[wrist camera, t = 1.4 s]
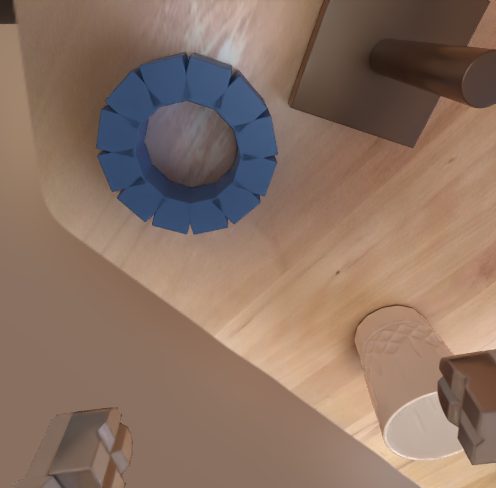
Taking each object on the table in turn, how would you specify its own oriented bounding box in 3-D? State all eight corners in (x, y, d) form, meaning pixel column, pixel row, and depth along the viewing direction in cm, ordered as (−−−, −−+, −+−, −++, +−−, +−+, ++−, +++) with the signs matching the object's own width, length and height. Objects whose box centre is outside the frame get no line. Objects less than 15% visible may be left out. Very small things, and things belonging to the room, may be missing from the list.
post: (287, 103, 27) (327, 159, 16) (343, -55, 22) (449, -127, 12) (404, 142, 28) (514, 218, 17) (476, 2, 24) (680, -15, 13)
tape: (100, 192, 29) (87, 209, 27) (124, 28, 24) (111, 29, 21) (244, 231, 31) (245, 250, 29) (295, 87, 26) (302, 94, 23)
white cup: (330, 337, 37) (361, 433, 28) (396, 284, 34) (453, 373, 26) (383, 374, 40) (425, 473, 31) (448, 328, 37) (515, 422, 28)
